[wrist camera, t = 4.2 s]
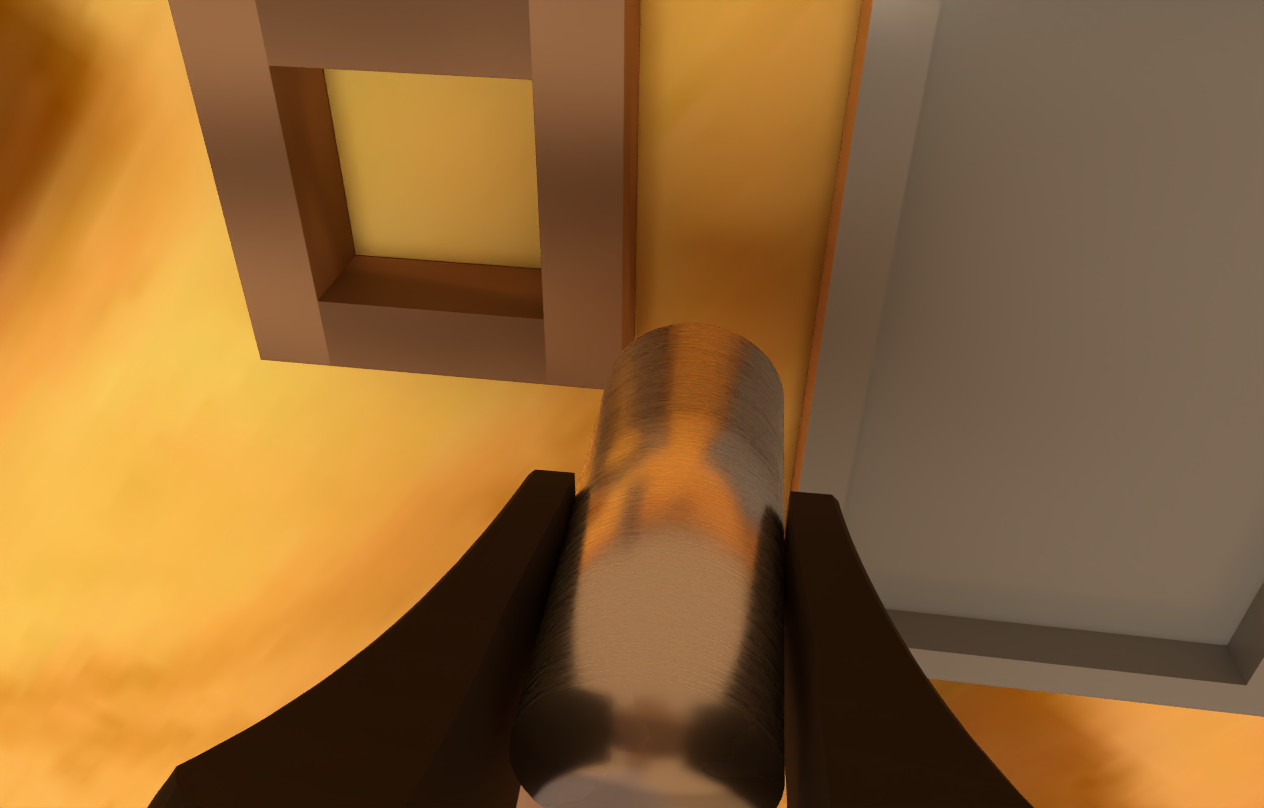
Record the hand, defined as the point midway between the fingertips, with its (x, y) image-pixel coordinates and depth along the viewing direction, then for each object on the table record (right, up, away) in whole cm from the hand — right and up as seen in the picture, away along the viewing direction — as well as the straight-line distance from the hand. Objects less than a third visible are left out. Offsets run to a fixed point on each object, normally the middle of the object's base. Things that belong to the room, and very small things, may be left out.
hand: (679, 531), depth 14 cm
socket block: (-5, +8, +8) cm, 12 cm away
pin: (0, +2, +3) cm, 3 cm away
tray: (+11, +3, +9) cm, 14 cm away
